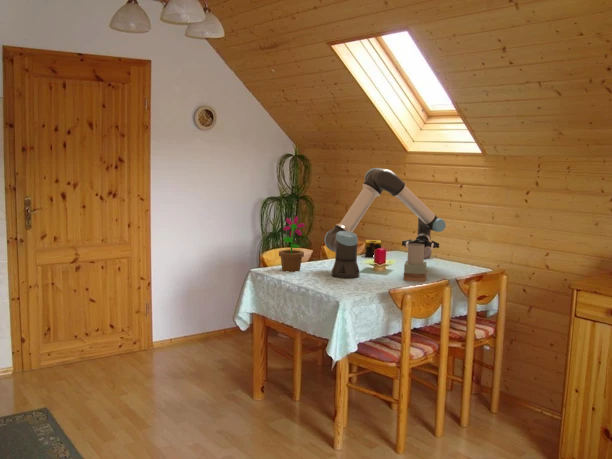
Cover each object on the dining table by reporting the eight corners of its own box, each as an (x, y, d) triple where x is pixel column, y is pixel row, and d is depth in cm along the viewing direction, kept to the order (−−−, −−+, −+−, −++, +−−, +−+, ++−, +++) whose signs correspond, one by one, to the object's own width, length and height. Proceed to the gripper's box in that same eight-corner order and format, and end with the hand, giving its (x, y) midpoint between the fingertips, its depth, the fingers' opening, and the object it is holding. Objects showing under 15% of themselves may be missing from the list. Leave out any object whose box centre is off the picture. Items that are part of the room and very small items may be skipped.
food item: (422, 256, 409) (422, 241, 407) (432, 258, 403) (433, 242, 402) (409, 258, 399) (409, 243, 398) (419, 260, 394) (420, 244, 392)
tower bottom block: (424, 282, 333) (424, 274, 332) (403, 281, 336) (403, 272, 335) (426, 278, 343) (426, 270, 343) (406, 276, 346) (406, 268, 345)
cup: (412, 264, 333) (412, 246, 332) (404, 261, 341) (405, 243, 339) (426, 264, 336) (427, 245, 334) (418, 261, 344) (419, 243, 342)
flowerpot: (306, 268, 360) (308, 216, 355) (300, 273, 346) (301, 218, 342) (282, 266, 363) (283, 214, 359) (274, 271, 349) (275, 217, 345)
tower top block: (425, 274, 332) (425, 265, 332) (404, 272, 335) (404, 264, 334) (426, 270, 343) (426, 262, 342) (405, 268, 345) (406, 260, 345)
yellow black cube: (380, 255, 407) (381, 240, 406) (381, 258, 397) (381, 242, 396) (364, 254, 408) (365, 239, 407) (364, 257, 398) (365, 241, 397)
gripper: (444, 248, 359) (442, 255, 339) (400, 246, 365) (395, 252, 345) (445, 235, 358) (443, 241, 338) (400, 233, 364) (396, 238, 344)
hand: (419, 246), depth 341 cm, fingers open, 13 cm apart
